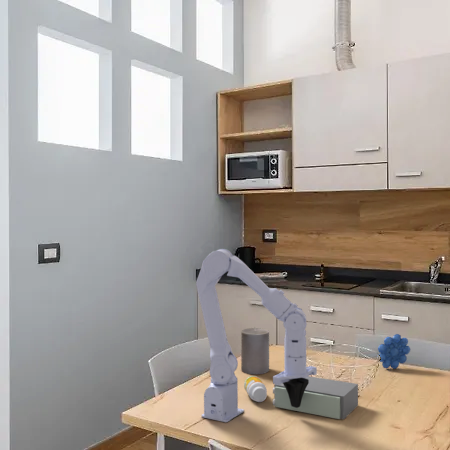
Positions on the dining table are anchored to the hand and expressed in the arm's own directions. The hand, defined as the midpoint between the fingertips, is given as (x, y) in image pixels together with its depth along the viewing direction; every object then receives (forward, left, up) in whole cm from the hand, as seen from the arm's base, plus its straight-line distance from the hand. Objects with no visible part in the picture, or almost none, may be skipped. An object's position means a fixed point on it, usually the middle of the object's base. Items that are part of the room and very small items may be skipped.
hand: (295, 406), depth 141 cm
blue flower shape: (+59, -10, -3) cm, 60 cm away
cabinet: (+11, -1, -3) cm, 11 cm away
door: (+4, -1, -2) cm, 5 cm away
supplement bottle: (+11, +19, 0) cm, 22 cm away
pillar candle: (+33, +30, -3) cm, 44 cm away
